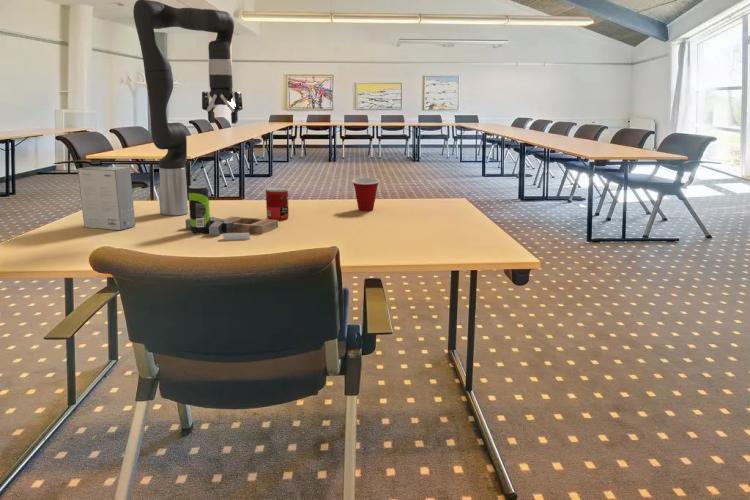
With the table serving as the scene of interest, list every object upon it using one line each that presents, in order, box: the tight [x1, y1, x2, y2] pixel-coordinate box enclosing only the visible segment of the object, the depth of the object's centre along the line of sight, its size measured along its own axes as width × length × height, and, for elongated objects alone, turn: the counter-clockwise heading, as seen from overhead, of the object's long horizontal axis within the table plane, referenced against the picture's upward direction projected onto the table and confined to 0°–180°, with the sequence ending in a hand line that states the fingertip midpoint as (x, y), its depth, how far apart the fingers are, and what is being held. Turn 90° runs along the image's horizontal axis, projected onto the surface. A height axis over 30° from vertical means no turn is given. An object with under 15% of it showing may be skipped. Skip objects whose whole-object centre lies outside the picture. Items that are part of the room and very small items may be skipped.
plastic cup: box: [351, 177, 381, 212], centre depth 246 cm, size 11×11×12 cm
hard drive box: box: [77, 166, 136, 231], centre depth 210 cm, size 16×8×20 cm, turn 71°
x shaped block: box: [185, 216, 234, 237], centre depth 208 cm, size 10×18×3 cm, turn 46°
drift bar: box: [222, 232, 251, 241], centre depth 196 cm, size 8×2×2 cm, turn 104°
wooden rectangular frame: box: [223, 215, 279, 235], centre depth 211 cm, size 18×11×2 cm, turn 72°
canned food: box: [265, 186, 290, 222], centre depth 227 cm, size 8×8×11 cm
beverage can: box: [187, 184, 211, 234], centre depth 204 cm, size 6×6×15 cm
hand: (223, 123), depth 214 cm, fingers open, 8 cm apart
